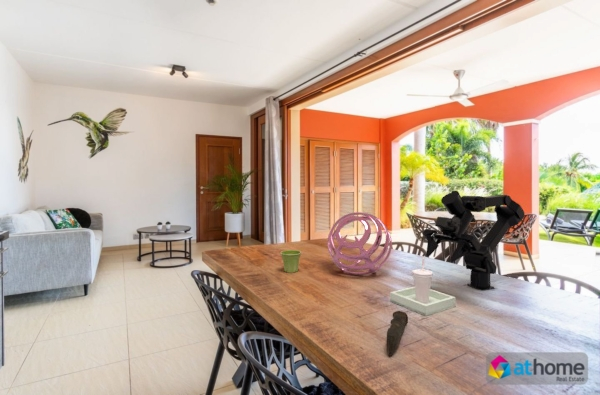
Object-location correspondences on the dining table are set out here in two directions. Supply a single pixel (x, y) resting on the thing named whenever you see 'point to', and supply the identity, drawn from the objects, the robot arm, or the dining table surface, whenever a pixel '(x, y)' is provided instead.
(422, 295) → the smoothie
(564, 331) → the dining table surface
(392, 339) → the hand tool
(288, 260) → the plant pot
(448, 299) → the sage tray
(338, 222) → the pink openwork sphere
